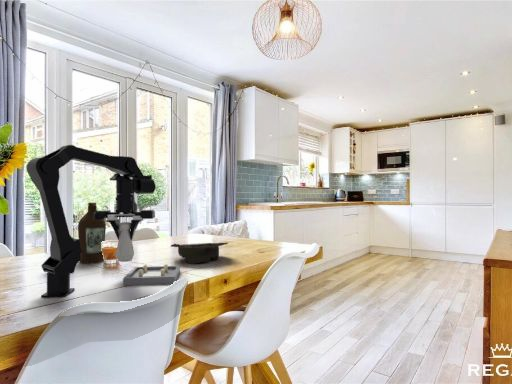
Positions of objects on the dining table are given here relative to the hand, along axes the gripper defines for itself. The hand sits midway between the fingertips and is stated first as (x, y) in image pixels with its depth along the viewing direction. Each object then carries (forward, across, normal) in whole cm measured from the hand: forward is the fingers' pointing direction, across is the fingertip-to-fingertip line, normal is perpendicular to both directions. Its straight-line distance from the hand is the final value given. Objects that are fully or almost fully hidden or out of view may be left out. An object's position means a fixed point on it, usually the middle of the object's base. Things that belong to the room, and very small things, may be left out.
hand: (125, 239), depth 111 cm
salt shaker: (+7, 0, 0) cm, 7 cm away
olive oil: (+14, +21, -31) cm, 40 cm away
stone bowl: (+14, -24, -29) cm, 40 cm away
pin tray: (+13, -9, 0) cm, 16 cm away
